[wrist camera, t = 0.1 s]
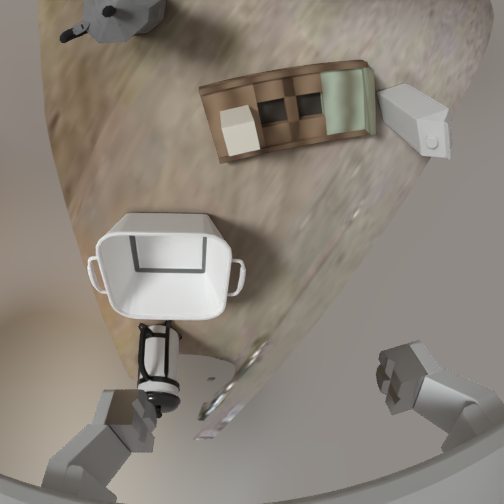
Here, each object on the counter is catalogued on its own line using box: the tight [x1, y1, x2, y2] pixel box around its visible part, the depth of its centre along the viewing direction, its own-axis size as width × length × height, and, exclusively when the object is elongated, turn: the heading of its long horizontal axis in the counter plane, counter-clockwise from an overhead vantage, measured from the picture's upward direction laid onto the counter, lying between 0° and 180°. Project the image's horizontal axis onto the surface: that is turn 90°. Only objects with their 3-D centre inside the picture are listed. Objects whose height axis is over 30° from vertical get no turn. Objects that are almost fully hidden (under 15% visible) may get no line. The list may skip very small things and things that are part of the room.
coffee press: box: [137, 320, 182, 418], centre depth 86 cm, size 17×16×30 cm
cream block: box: [220, 105, 260, 156], centre depth 50 cm, size 5×5×8 cm
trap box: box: [199, 60, 376, 164], centre depth 52 cm, size 30×15×5 cm, turn 101°
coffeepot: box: [60, 0, 166, 43], centre depth 31 cm, size 15×9×18 cm, turn 103°
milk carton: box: [377, 83, 452, 161], centre depth 47 cm, size 7×7×19 cm
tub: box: [87, 212, 246, 320], centre depth 68 cm, size 34×27×13 cm
